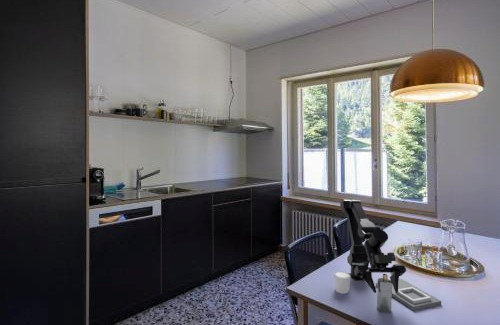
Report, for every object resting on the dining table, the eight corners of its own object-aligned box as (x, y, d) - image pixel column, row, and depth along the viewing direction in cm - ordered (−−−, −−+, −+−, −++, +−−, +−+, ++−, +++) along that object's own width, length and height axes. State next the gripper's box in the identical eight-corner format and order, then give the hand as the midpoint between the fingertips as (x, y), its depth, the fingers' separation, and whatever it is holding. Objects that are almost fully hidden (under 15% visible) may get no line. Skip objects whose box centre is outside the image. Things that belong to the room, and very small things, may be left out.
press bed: (375, 285, 127) (376, 280, 127) (400, 281, 132) (401, 276, 131) (413, 310, 108) (413, 303, 108) (441, 304, 112) (441, 298, 112)
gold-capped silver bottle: (374, 306, 111) (375, 272, 110) (384, 304, 112) (385, 271, 112) (383, 313, 106) (384, 278, 105) (394, 311, 108) (395, 276, 107)
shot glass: (346, 286, 127) (347, 271, 127) (352, 294, 120) (353, 278, 120) (331, 286, 127) (331, 271, 126) (336, 294, 120) (337, 278, 120)
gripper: (357, 244, 112) (368, 285, 102) (404, 244, 112) (420, 285, 102) (349, 256, 120) (359, 295, 110) (394, 256, 120) (407, 295, 110)
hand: (386, 292), depth 107 cm, fingers open, 8 cm apart
